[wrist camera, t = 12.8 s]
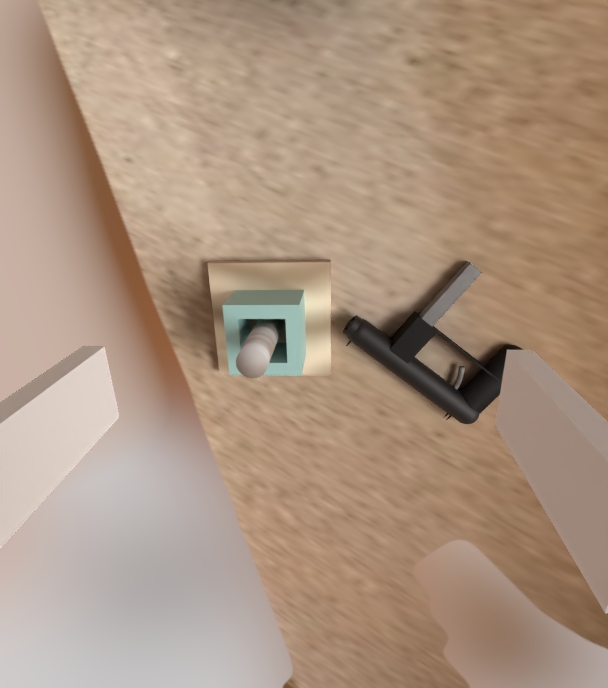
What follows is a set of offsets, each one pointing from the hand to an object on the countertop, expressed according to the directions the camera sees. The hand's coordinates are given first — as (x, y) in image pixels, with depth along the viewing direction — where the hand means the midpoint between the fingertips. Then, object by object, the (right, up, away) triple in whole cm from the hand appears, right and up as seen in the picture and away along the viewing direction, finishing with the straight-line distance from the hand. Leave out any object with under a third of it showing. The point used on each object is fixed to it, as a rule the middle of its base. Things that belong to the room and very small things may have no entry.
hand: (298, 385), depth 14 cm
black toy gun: (+17, +3, +38) cm, 42 cm away
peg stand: (-4, +4, +38) cm, 39 cm away
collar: (-4, +4, +37) cm, 38 cm away
